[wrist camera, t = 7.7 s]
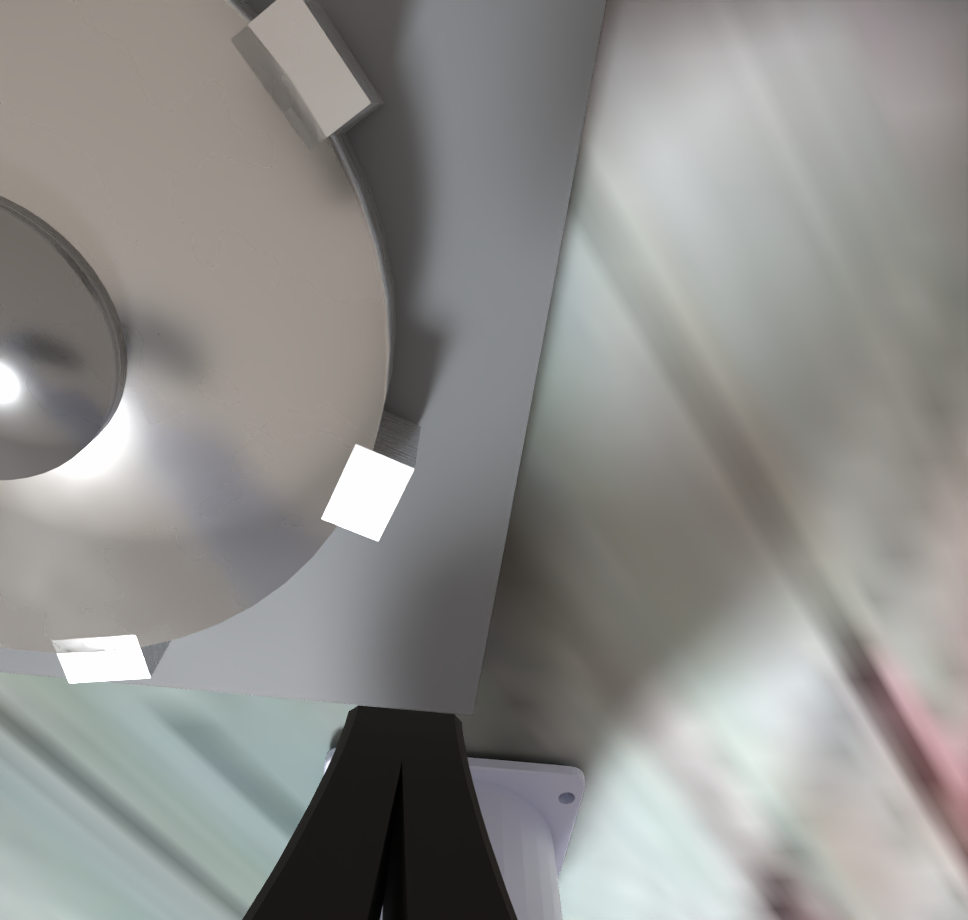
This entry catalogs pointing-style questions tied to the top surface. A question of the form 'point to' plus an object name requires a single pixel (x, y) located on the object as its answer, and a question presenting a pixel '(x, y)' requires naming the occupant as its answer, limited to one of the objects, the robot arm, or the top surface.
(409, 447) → the lugged metal disc
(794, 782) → the top surface
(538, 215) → the base plate
